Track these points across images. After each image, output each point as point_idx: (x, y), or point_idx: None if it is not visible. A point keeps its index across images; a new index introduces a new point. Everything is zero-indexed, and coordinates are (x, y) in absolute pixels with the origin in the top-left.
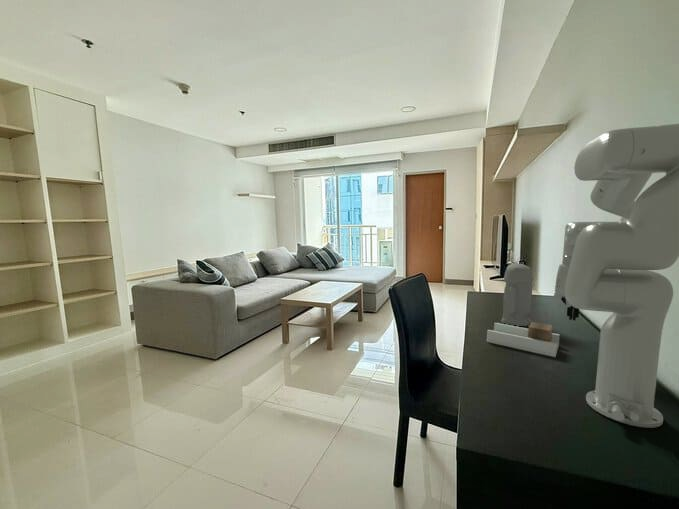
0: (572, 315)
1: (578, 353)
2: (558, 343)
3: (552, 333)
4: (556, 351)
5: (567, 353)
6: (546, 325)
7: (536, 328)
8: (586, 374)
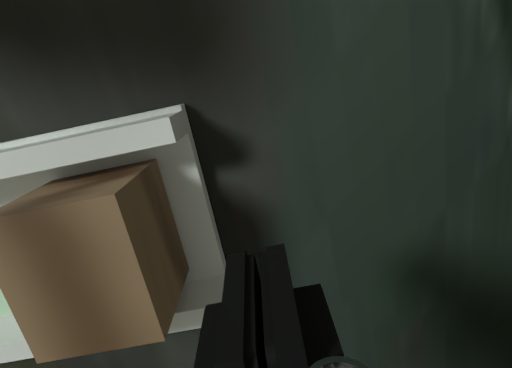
0: (253, 264)
1: (291, 149)
2: (186, 134)
3: (131, 136)
4: (221, 258)
5: (253, 193)
6: (88, 233)
7: (84, 353)
8: (361, 360)
